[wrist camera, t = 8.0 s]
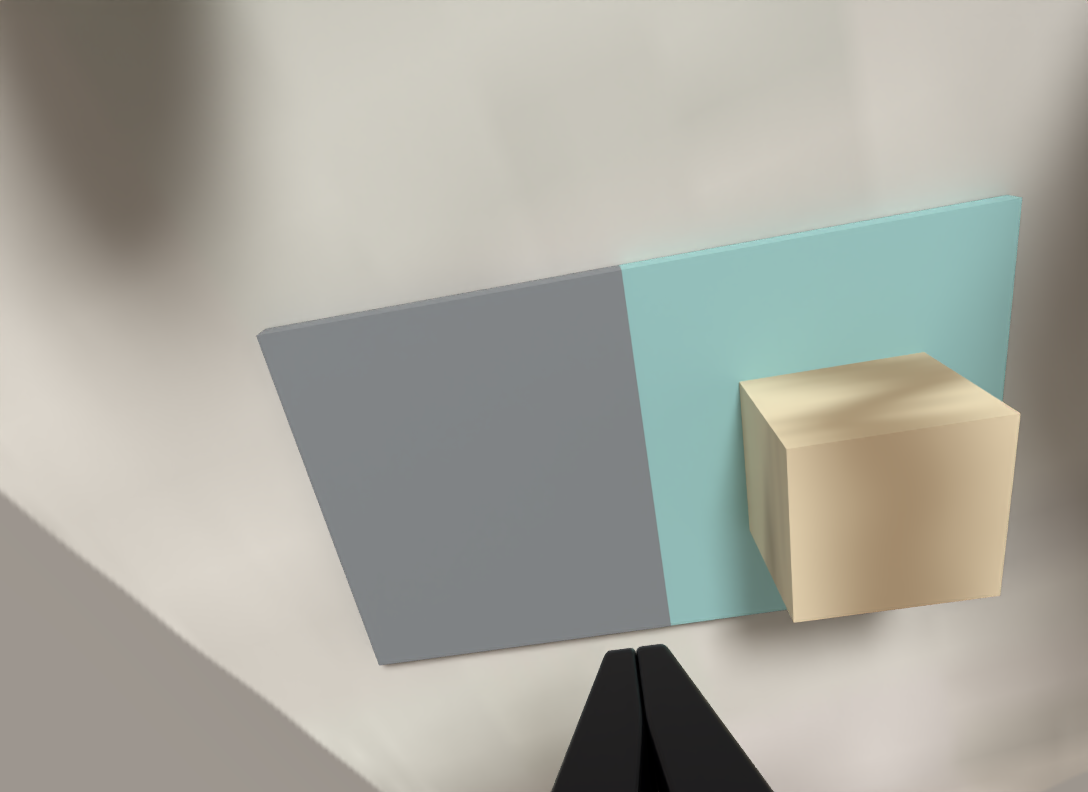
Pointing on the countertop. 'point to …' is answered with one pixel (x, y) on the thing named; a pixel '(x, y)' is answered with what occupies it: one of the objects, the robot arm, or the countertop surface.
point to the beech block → (878, 485)
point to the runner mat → (606, 422)
